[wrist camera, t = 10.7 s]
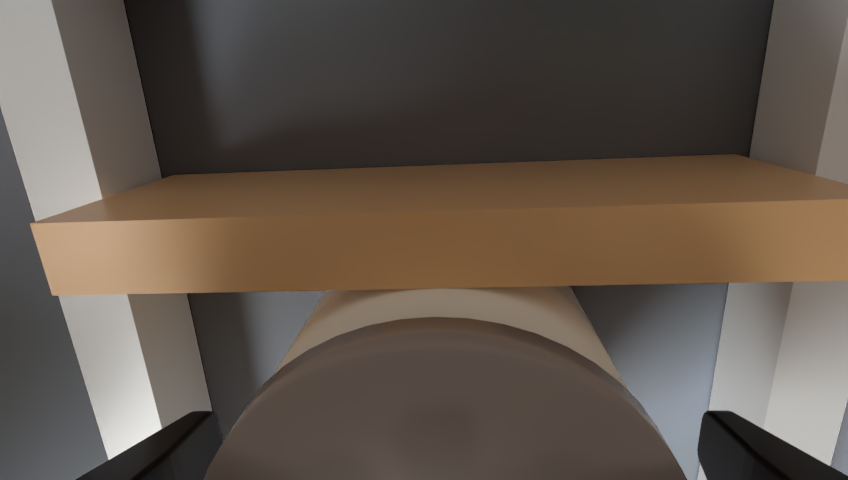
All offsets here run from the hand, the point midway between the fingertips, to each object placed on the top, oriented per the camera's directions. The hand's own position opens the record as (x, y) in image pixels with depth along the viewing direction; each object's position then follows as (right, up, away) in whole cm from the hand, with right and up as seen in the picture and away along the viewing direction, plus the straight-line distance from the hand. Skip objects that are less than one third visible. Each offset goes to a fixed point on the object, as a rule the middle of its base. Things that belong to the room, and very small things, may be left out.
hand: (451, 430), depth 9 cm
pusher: (0, +5, +2) cm, 5 cm away
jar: (0, +1, +3) cm, 3 cm away
